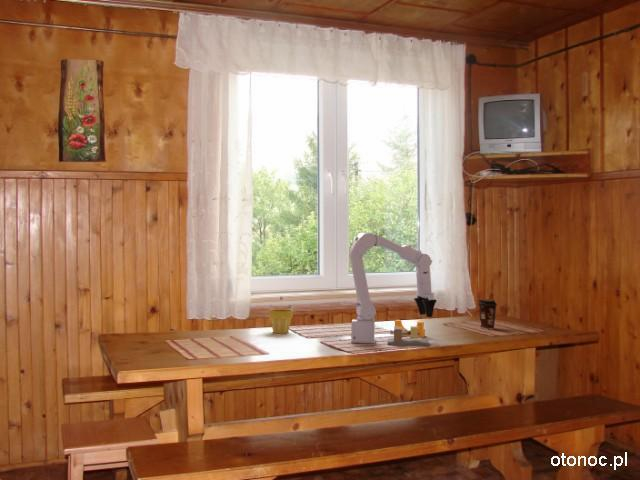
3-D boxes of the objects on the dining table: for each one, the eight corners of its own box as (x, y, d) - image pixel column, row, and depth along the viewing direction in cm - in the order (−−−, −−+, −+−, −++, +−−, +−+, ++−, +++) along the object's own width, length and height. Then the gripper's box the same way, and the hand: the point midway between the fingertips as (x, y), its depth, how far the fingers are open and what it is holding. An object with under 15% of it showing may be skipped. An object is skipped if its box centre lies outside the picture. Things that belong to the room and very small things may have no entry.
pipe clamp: (424, 336, 290) (425, 321, 290) (421, 337, 286) (421, 322, 286) (398, 334, 296) (398, 319, 296) (394, 335, 292) (394, 320, 292)
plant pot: (294, 330, 303) (294, 308, 303) (291, 334, 293) (291, 311, 292) (271, 330, 304) (271, 308, 304) (267, 333, 294) (267, 311, 293)
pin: (390, 338, 271) (390, 326, 271) (390, 336, 274) (390, 325, 274) (418, 338, 270) (418, 327, 270) (418, 337, 273) (418, 326, 272)
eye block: (387, 344, 269) (387, 329, 269) (388, 341, 277) (388, 326, 276) (428, 345, 267) (428, 330, 267) (427, 342, 275) (428, 327, 274)
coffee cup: (473, 327, 315) (473, 299, 315) (488, 326, 318) (488, 298, 318) (485, 330, 307) (486, 301, 307) (500, 329, 311) (500, 300, 310)
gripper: (439, 283, 273) (442, 317, 273) (426, 280, 287) (428, 312, 288) (423, 284, 271) (425, 318, 272) (410, 281, 286) (412, 314, 286)
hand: (426, 315), depth 280 cm, fingers open, 7 cm apart
